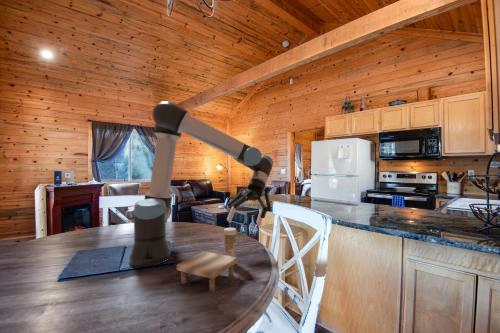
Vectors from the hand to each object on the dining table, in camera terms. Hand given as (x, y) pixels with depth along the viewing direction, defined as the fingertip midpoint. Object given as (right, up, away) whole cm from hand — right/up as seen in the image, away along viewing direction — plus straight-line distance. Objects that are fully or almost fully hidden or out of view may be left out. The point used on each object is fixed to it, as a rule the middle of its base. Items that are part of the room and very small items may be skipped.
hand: (242, 222), depth 102 cm
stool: (-11, -14, -20) cm, 27 cm away
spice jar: (-4, -14, -8) cm, 17 cm away
